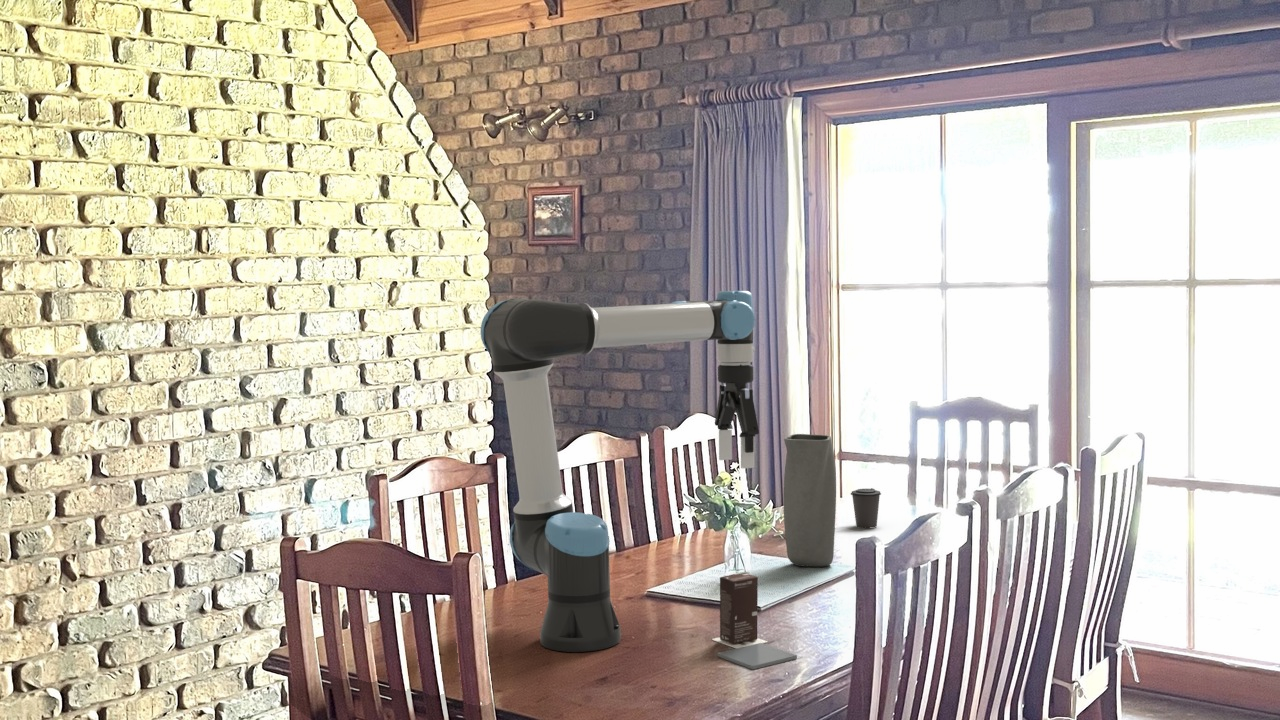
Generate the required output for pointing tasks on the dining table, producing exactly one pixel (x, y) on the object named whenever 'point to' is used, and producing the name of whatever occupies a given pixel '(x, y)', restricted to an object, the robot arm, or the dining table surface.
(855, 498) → the coffee cup
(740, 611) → the box
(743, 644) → the tile
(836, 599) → the dining table surface
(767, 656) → the coaster
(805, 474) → the vase
